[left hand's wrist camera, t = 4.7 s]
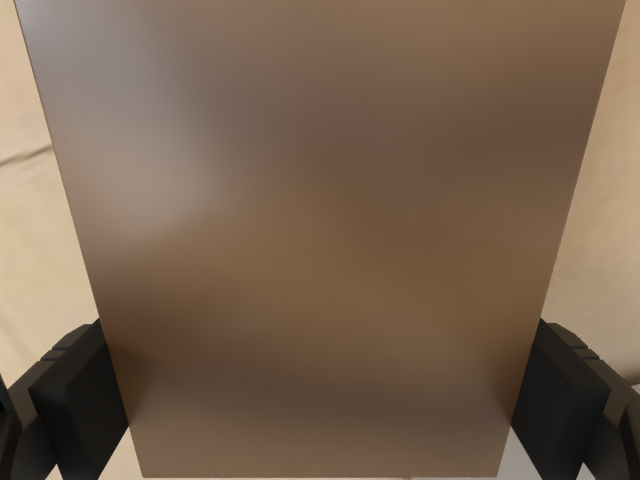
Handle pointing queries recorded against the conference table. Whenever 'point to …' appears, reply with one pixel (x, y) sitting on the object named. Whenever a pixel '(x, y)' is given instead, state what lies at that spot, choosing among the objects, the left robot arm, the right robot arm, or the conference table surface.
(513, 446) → the projector
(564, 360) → the left robot arm
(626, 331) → the conference table surface
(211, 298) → the cabinet
